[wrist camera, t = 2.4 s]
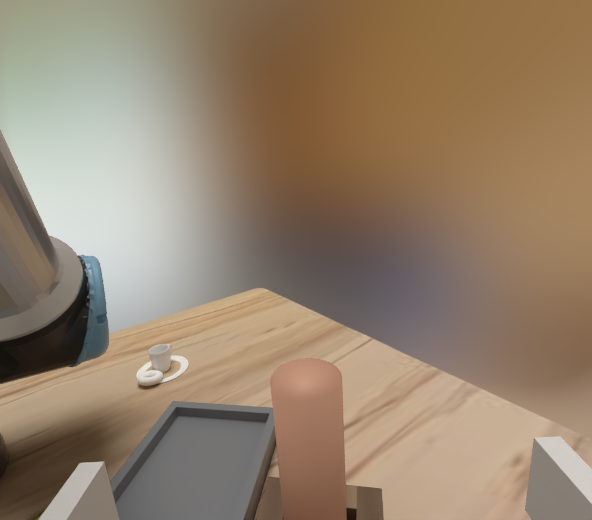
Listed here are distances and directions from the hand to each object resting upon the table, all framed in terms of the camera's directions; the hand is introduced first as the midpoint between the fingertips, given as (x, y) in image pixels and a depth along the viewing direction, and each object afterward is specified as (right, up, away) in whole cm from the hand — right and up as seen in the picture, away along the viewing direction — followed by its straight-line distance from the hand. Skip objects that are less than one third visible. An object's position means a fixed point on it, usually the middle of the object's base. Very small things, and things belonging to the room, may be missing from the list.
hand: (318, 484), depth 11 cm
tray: (-11, -16, +26) cm, 32 cm away
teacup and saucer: (-25, -12, +45) cm, 53 cm away
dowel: (+1, -18, +16) cm, 23 cm away
